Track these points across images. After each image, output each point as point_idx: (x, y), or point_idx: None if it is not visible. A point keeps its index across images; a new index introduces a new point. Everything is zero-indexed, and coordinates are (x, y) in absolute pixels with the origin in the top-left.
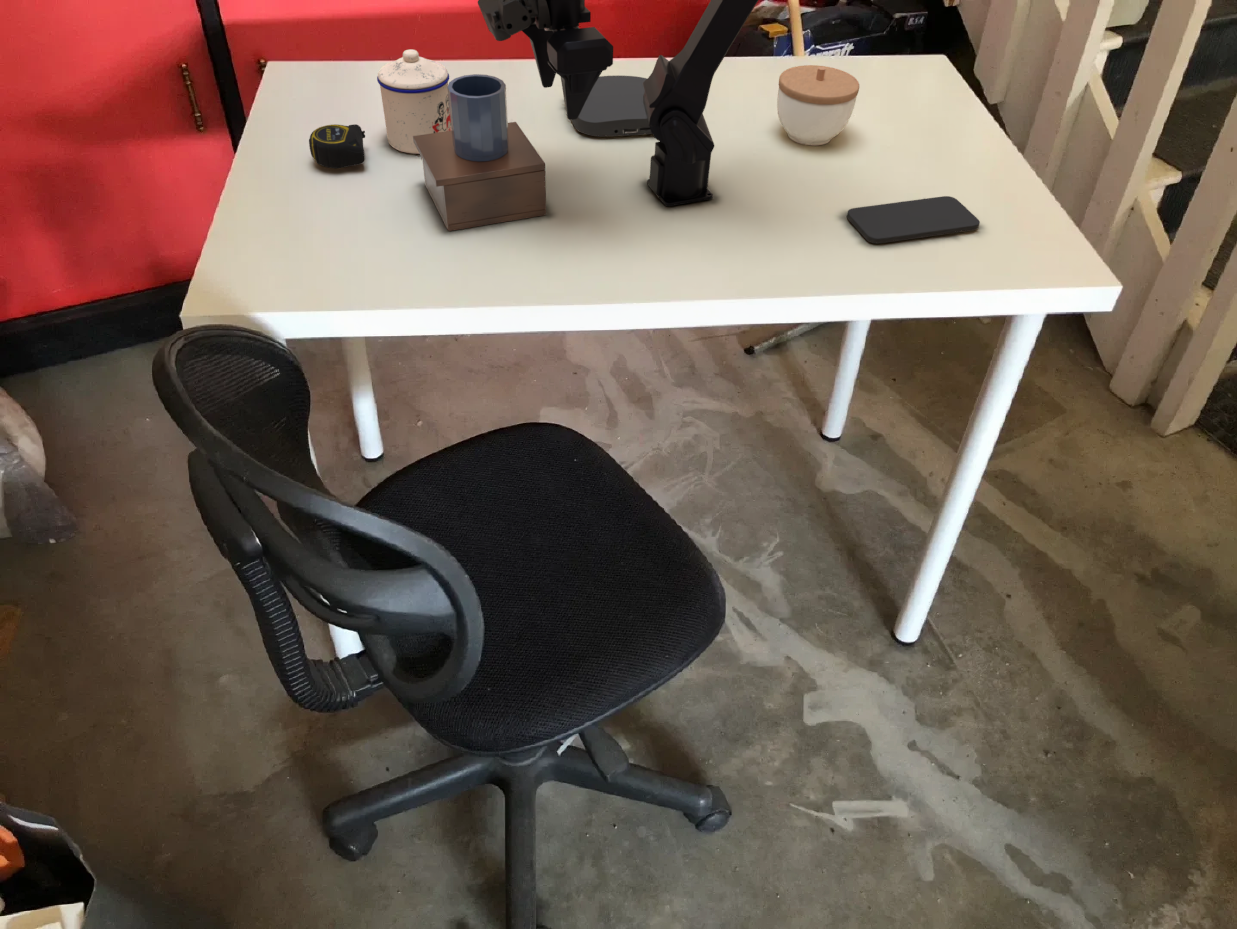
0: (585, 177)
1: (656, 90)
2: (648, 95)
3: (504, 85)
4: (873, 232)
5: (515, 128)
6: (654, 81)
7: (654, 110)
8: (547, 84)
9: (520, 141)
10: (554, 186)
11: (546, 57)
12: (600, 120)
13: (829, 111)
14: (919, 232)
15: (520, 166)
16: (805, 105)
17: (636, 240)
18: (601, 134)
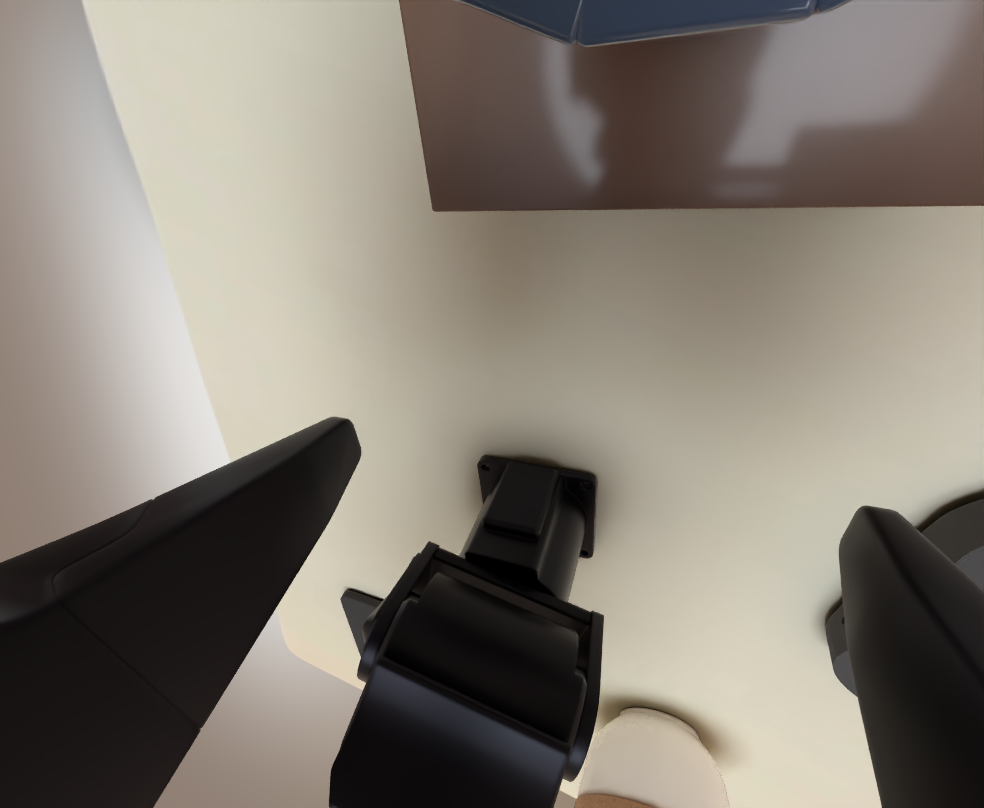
0: (704, 367)
1: (407, 729)
2: (440, 700)
3: (528, 6)
4: (353, 604)
5: (925, 169)
6: (471, 767)
7: (381, 651)
8: (856, 540)
9: (707, 150)
10: (695, 254)
11: (960, 799)
12: (972, 564)
13: (581, 782)
14: (352, 630)
15: (419, 67)
16: (603, 786)
17: (364, 343)
18: (939, 524)
